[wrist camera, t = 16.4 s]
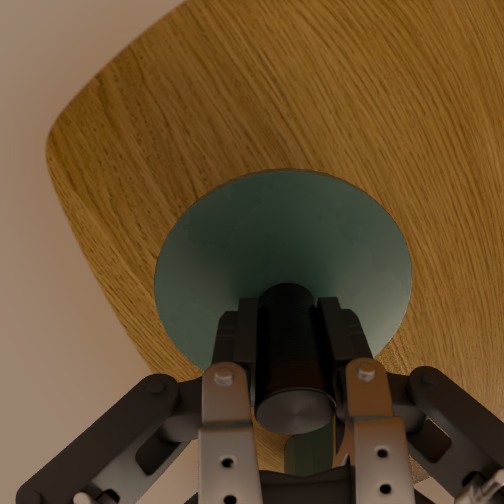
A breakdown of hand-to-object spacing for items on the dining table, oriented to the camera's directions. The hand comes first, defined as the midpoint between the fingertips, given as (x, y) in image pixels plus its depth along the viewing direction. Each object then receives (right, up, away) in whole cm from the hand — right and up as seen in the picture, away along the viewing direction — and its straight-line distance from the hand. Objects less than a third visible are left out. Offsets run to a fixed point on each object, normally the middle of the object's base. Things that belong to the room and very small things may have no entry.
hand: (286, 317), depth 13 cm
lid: (0, +1, +1) cm, 1 cm away
